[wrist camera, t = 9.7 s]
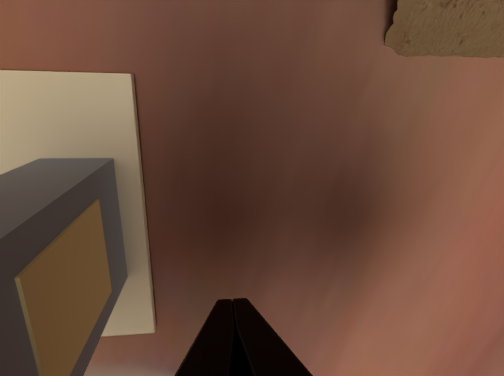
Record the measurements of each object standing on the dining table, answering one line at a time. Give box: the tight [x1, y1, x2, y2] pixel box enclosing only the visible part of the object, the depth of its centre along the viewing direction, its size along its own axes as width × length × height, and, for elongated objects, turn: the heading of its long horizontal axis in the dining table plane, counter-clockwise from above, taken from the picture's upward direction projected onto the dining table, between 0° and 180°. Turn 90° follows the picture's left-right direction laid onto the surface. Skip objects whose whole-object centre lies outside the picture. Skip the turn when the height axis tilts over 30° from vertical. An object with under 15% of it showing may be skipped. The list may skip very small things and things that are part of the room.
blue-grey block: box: [0, 158, 128, 376], centre depth 10 cm, size 3×6×9 cm, turn 179°
